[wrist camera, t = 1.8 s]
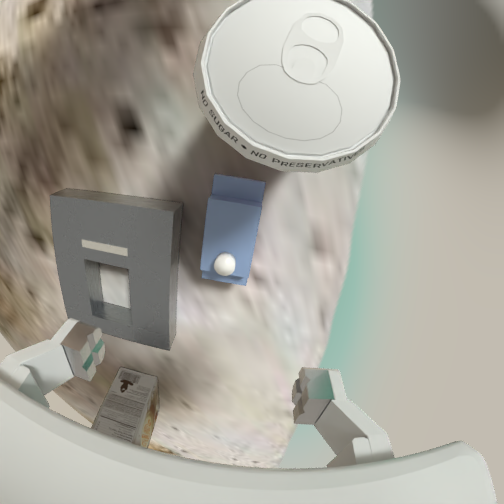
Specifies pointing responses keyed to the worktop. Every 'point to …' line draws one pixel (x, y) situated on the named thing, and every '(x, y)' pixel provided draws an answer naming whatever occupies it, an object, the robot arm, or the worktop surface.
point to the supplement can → (297, 82)
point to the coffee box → (130, 408)
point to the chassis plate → (119, 261)
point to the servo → (231, 228)
